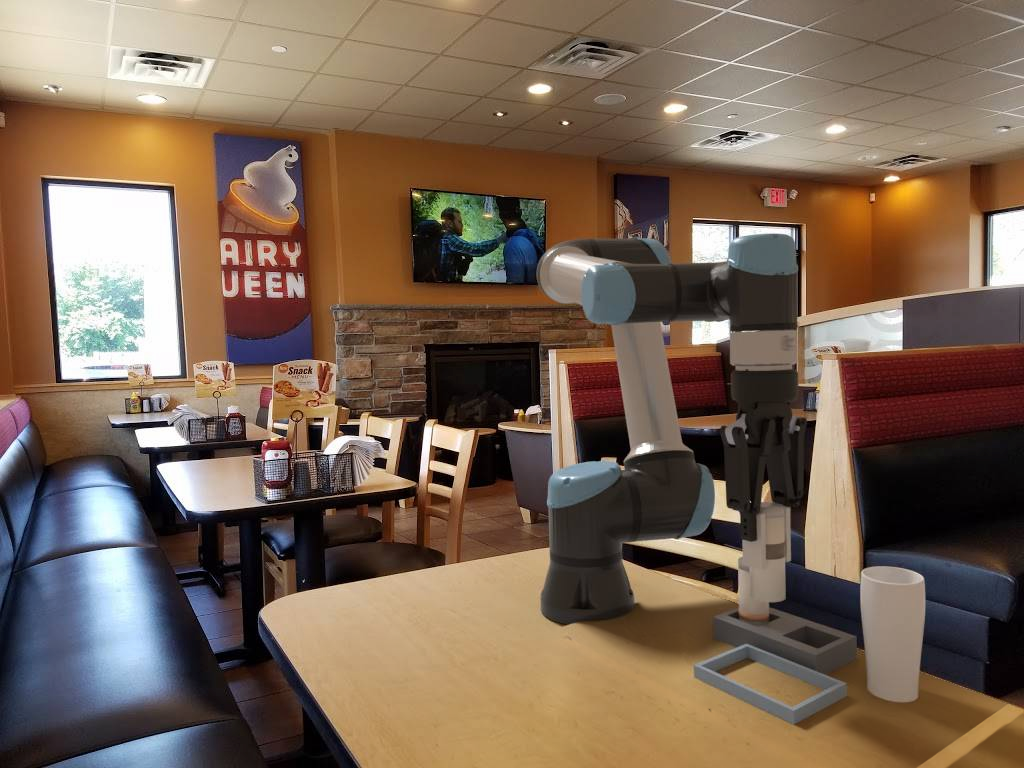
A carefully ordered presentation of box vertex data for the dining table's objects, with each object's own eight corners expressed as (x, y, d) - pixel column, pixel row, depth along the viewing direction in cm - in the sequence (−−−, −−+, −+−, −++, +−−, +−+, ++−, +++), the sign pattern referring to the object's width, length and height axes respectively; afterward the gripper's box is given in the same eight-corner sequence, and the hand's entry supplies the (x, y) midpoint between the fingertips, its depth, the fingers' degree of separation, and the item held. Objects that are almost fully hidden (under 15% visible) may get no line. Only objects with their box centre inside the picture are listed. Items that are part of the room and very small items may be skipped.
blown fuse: (742, 595, 88) (741, 505, 88) (764, 588, 90) (762, 500, 90) (771, 605, 85) (770, 511, 84) (793, 597, 87) (791, 505, 86)
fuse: (732, 636, 103) (731, 559, 103) (751, 628, 106) (750, 554, 105) (757, 645, 100) (756, 566, 99) (775, 637, 102) (774, 560, 101)
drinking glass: (923, 719, 82) (923, 588, 81) (857, 704, 85) (856, 579, 84) (926, 693, 88) (926, 570, 87) (864, 680, 91) (863, 562, 90)
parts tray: (694, 684, 92) (693, 665, 92) (746, 661, 97) (746, 643, 97) (793, 732, 80) (793, 710, 80) (846, 703, 86) (846, 683, 85)
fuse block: (713, 644, 103) (712, 616, 103) (753, 628, 108) (753, 601, 108) (815, 686, 90) (815, 655, 90) (856, 666, 95) (856, 636, 95)
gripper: (743, 372, 78) (746, 586, 80) (835, 364, 88) (837, 555, 89) (689, 371, 84) (693, 569, 86) (781, 364, 94) (783, 542, 95)
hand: (766, 562), depth 87 cm, fingers closed on blown fuse, 4 cm apart
